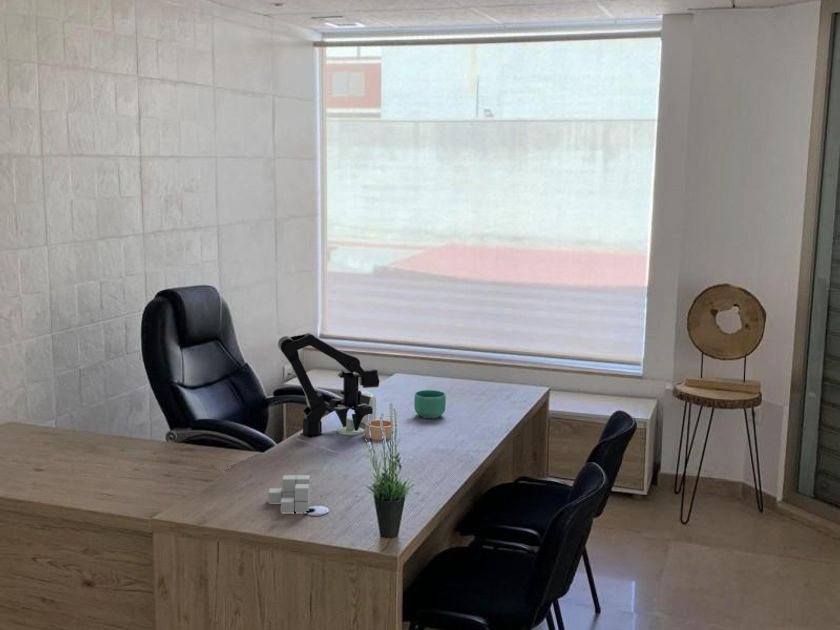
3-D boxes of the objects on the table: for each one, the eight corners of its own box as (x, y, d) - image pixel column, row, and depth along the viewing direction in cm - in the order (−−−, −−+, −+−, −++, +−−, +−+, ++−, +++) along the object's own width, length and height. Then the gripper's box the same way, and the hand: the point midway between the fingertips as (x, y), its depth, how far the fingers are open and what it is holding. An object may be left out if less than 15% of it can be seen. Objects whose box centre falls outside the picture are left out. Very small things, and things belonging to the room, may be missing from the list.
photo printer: (353, 420, 375) (353, 390, 373) (362, 419, 378) (362, 388, 376) (368, 426, 367) (369, 395, 365) (377, 424, 370) (378, 393, 368)
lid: (349, 437, 351) (349, 424, 350) (331, 431, 357) (331, 419, 357) (369, 432, 358) (369, 419, 357) (351, 426, 365) (351, 414, 364)
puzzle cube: (269, 500, 284) (269, 475, 282) (309, 500, 285) (309, 474, 283) (266, 515, 272) (266, 488, 271) (308, 514, 273) (308, 488, 272)
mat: (349, 438, 351) (349, 437, 351) (331, 432, 357) (331, 431, 357) (369, 433, 358) (369, 432, 358) (351, 427, 365) (351, 426, 365)
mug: (440, 421, 376) (440, 398, 375) (410, 418, 380) (410, 395, 379) (451, 411, 392) (451, 389, 391) (422, 409, 396) (422, 386, 394)
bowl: (379, 442, 346) (379, 429, 345) (359, 436, 353) (359, 423, 353) (401, 436, 354) (401, 423, 353) (380, 430, 361) (380, 418, 360)
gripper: (383, 389, 354) (383, 430, 357) (350, 381, 367) (350, 420, 369) (361, 394, 346) (361, 435, 349) (328, 385, 359) (328, 425, 362)
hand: (350, 428), depth 357 cm, fingers open, 6 cm apart
